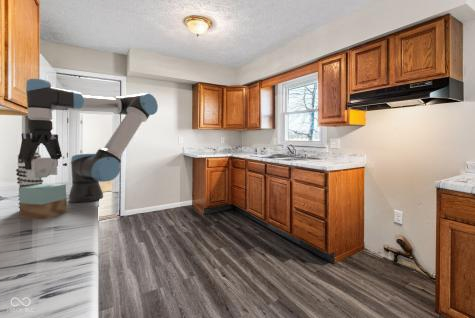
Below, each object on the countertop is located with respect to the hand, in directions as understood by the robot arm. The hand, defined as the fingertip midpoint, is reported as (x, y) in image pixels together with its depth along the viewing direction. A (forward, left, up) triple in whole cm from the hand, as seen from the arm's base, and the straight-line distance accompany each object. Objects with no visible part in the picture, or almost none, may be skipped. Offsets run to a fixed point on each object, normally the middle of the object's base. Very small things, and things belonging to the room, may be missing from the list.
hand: (42, 176), depth 99 cm
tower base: (0, 0, -16) cm, 16 cm away
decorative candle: (-6, -12, -16) cm, 21 cm away
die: (0, 0, 0) cm, 0 cm away
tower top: (0, 0, -10) cm, 10 cm away
